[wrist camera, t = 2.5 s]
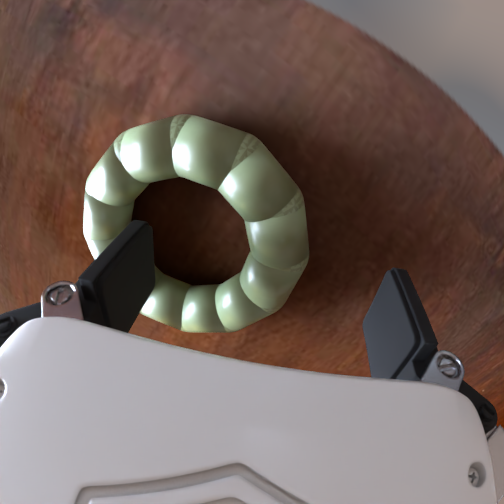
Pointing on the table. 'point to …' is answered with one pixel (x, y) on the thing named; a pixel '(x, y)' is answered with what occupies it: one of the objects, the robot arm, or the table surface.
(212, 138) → the ring
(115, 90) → the table surface
